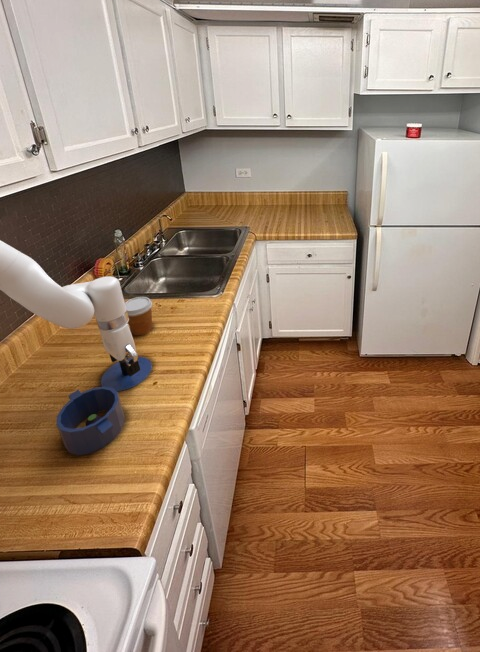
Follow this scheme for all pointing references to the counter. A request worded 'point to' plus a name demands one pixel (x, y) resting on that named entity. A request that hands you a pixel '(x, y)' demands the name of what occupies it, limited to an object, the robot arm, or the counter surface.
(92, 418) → the blackberry
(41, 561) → the counter surface
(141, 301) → the disposable coffee cup
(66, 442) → the pot
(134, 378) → the lid
